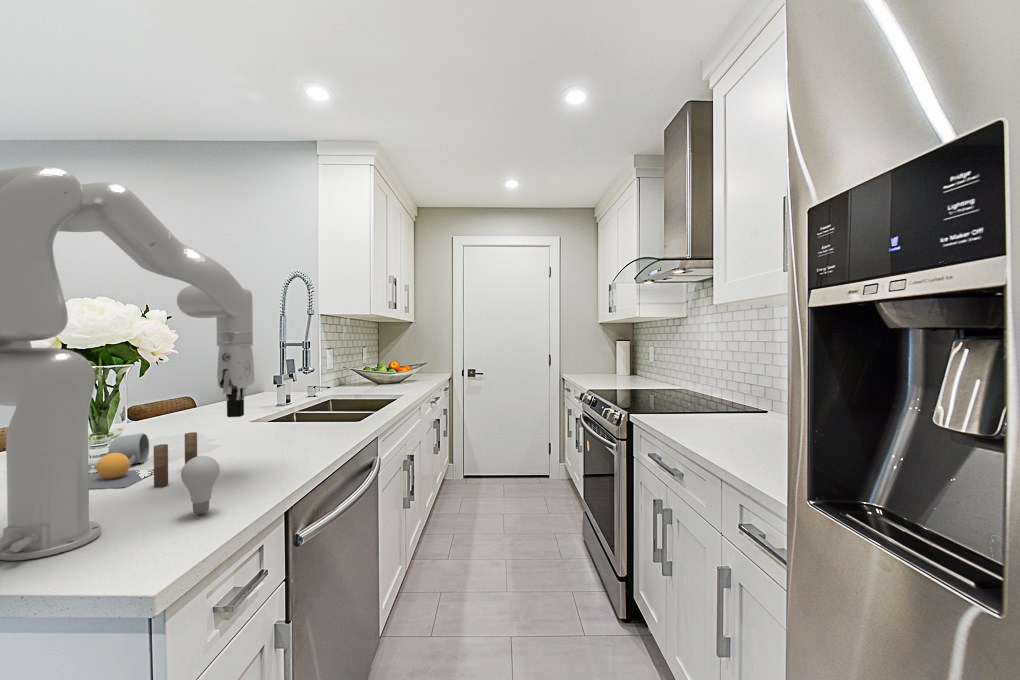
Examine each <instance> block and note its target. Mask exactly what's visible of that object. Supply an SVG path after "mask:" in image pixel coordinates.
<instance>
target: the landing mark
mask: <svg viewBox="0 0 1020 680" xmlns="http://www.w3.org/2000/svg"><path fill="white" fill-rule="evenodd" d="M139 470H140V469H133V470H131V469H130V470H129V469H128V471H127V472H126V473H125V474H124V475H123V476H121V477H119V478H116V479H105V478H103V477H101V476H100V475H99V474H94V473H92V474H90V475H89V490H102V489H101V488H113V489H123V488H122V487H126V488H128V487H129V485H130V486H132V485H134V484H136V483H138V482H140V481H142V480H143V479H142V478H141V477H140V476H139V474H140V473H138V471H139ZM149 470H150V471H151V470H152V471H153V472H152V471H151V473H150V474H152V473H154V468H153V469H149ZM136 471H137V472H136ZM150 471H148V472H150ZM139 472H140V471H139ZM137 473H138V474H137ZM148 474H149V473H148ZM152 475H153V474H152ZM144 477H145V476H144ZM141 479H142V480H141ZM139 480H140V481H139ZM137 481H138V482H137ZM135 482H136V483H135ZM133 483H134V484H133ZM131 484H132V485H131ZM127 486H128V487H127Z"/></svg>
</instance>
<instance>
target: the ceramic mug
mask: <svg viewBox="0 0 1020 680" xmlns="http://www.w3.org/2000/svg"><path fill="white" fill-rule="evenodd" d="M118 436H119V435H118ZM118 436H116V437H117V438H115V439H114V440H113V441H112V442H111V444H110V446H109V453H108V454H110V453H121V454H124V455H125V456H127V457H128V459H129V461H130V466H132V465H137V463H141V464H144V463H143V462H145V461H146V462H147V460H148V458H149V454H150V440H149V437H148V436H147V434H146V433H144V432H143V433H136V434H128V435H120V436H119V437H118Z"/></svg>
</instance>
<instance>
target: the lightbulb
mask: <svg viewBox="0 0 1020 680" xmlns="http://www.w3.org/2000/svg"><path fill="white" fill-rule="evenodd" d="M220 468H221V467H220V464H219V463H218V461H217V460H216V459H214V457H211V456H208V455H197V457H194V458H192V459H191V460H189V461H188V462H187V463H186V464H185V463H184V465H183V467H182V469H181V473H180V478H181V482H182V483H183V484H184V486H185V487H186V488H187V490H188V492H189V496H190V502H191V503H192V512H193V513H194V514H196V515H199V516H200V515H201V516H202V515H204V514H205V513H206V512H208V511H209V510H210V499H211V498H212V490H213V487H214V485H215V483H216V482H217V480H218V478H219V476H220V471H221V470H220Z"/></svg>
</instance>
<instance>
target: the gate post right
mask: <svg viewBox="0 0 1020 680" xmlns="http://www.w3.org/2000/svg"><path fill="white" fill-rule="evenodd" d="M194 457H198V432H197V431H193V432H185V433H184V465H185V464H186V463H187V462H188V461H189V460H191V459H192V458H194Z"/></svg>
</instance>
